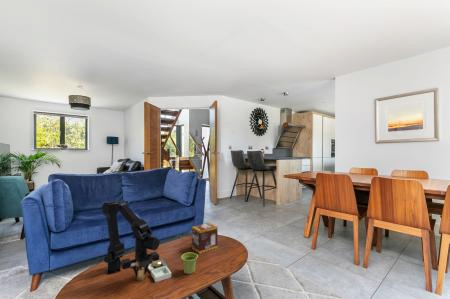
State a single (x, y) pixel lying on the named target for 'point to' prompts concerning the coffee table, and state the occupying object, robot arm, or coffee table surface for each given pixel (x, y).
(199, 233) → the supplement box
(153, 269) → the grey square tray
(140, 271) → the copper cell
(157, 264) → the brass plunger
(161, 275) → the trough
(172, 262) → the coffee table surface
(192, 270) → the plant pot
